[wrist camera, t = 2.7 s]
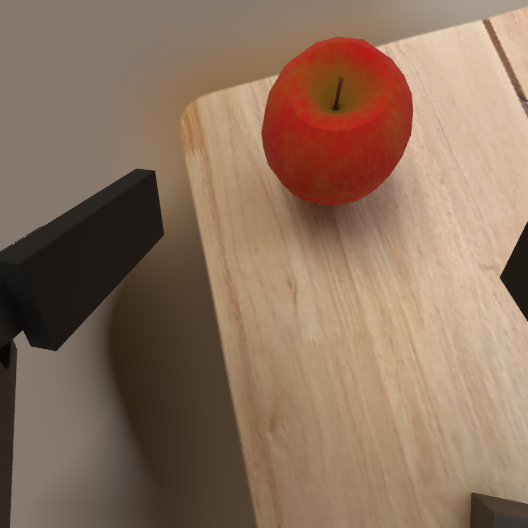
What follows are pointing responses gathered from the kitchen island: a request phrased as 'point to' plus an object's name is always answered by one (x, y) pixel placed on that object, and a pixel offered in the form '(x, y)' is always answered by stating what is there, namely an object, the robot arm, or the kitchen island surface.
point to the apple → (337, 121)
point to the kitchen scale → (497, 513)
